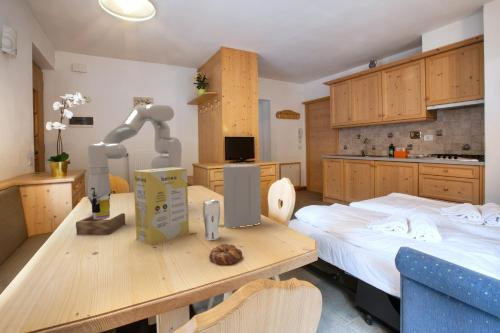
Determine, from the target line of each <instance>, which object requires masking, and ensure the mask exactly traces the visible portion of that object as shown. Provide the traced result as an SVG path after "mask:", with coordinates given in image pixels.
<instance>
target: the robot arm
mask: <svg viewBox="0 0 500 333" xmlns="http://www.w3.org/2000/svg"><path fill="white" fill-rule="evenodd" d="M174 117H175V112H174V109H173V107H171V105H168V104H167V105H166V104H140V105H136V106H135V107H133V108H132V109H131V111H130V112H129V113H128V115H127V116H126V117H125V119H124V120H123V121H122V122H121V123H120V124H119V125H118V126H116V127H115V128H114V129H113V130H111V131H109V132H108V133H107V134H106V135H105V136H104V137H103V138H102V139H101V140H100V142H99V143H89V144H88V146H87V155H88V156H87V159H88V172H89V173H88V174H89V175H88V179H87V199H88V201H89V202H90V205H91V204H92V207H91V214H92V213H100V204H98V203H99V199H100V197H102V196H104V195H107V196H108V197H109V209H110V207H111V205H110V200H111V195H112V194H111V193H112V191H113V190H112V188H111V181H110V172H109V171H110V170H109V168H110V167H109V160H121V159H124V158H125V157H126V156H127V148H126V146H125V145H123V144H122V142H124V141H126V140H128V139H131V138H133V137H135V136H137V135H138V134H139V132H140V130H141V129H142V128H143V126H144V125H145V124H146V123H147V122H150V123H151V125H152V126H153V128H154V151H155V152H156V153H157V154H161V155H158V156H155V157H154V158H152V160H151V166H150V167H151V169H159V168H170V167H175V168H182V142H181V141H180V139H178V138H177V137H174V136H172V137H171V128H170V125H169V124H168V122H169V121H171V120H173V118H174ZM95 196H97V197H95ZM95 198H97V199H96V200H95Z"/></svg>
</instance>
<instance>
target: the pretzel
mask: <svg viewBox="0 0 500 333" xmlns="http://www.w3.org/2000/svg"><path fill="white" fill-rule="evenodd" d="M208 256H209V260H210V262H212V263H213V264H217V265H224V266H225V265H226V266H227V265H233V264H236V263H237V262H238V261H239V260H241V259H242V257H243V251H242V250H241V249H240V248H237V247H236V246H235V244H227V243H221V244H218V245H217V246H216V247H214V248H212V249H211V250H210V253H209V255H208ZM238 259H239V260H238Z"/></svg>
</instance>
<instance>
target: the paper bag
mask: <svg viewBox="0 0 500 333" xmlns="http://www.w3.org/2000/svg"><path fill="white" fill-rule="evenodd" d="M261 168H262V167H261V165H255V164H238V163H237V164H236V163H235V164H234V163H229V164H228V163H227V164H223V166H222V183H223V184H222V185H223V186H222V189H223V228H224V227H226V228H225V229H227V228H232V229H234V228H233V227H240V226H247V225H255V224H258V223H260V222H261V223H262V202H261V201H262V199H261V198H262V194H261V193H262V191H261V190H262V188H261V186H262V185H261V180H262V179H261V176H262V175H261V172H262V170H261Z"/></svg>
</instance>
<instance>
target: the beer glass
mask: <svg viewBox="0 0 500 333" xmlns="http://www.w3.org/2000/svg"><path fill="white" fill-rule="evenodd" d="M202 218H203V223H204V240H205V241H211V240H213V241H217V240H219V239H220V233H219V225H220V219H221V206H220V201H219V200H216V199H209V200H205V201H204V200H203V202H202Z"/></svg>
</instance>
